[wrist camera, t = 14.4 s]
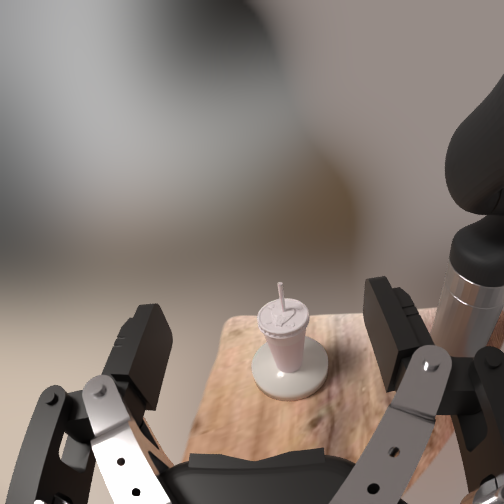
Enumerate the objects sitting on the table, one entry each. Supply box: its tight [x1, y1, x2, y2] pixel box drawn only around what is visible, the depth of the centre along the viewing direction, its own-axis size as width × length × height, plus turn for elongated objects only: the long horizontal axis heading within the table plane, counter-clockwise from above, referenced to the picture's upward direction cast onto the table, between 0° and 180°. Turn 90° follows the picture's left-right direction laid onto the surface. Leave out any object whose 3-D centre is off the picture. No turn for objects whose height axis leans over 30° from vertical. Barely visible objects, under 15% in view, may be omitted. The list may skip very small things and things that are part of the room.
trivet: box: [252, 336, 328, 401], centre depth 43 cm, size 11×11×2 cm
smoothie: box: [257, 282, 309, 373], centre depth 38 cm, size 6×6×14 cm
